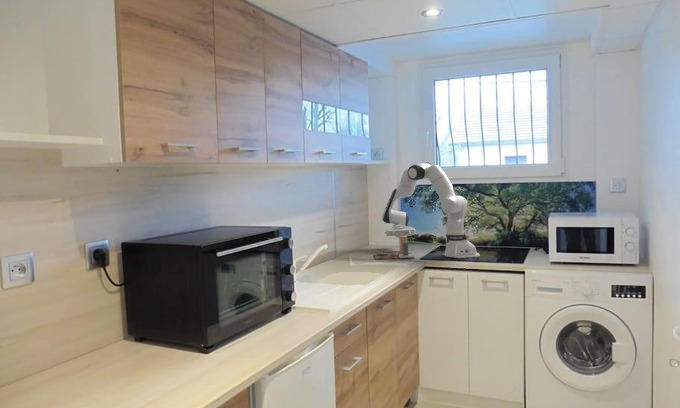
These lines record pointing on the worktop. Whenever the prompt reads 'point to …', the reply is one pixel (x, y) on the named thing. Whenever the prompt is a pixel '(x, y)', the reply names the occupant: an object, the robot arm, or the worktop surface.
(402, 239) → the block
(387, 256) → the board
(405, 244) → the grey upright piece
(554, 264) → the worktop surface
